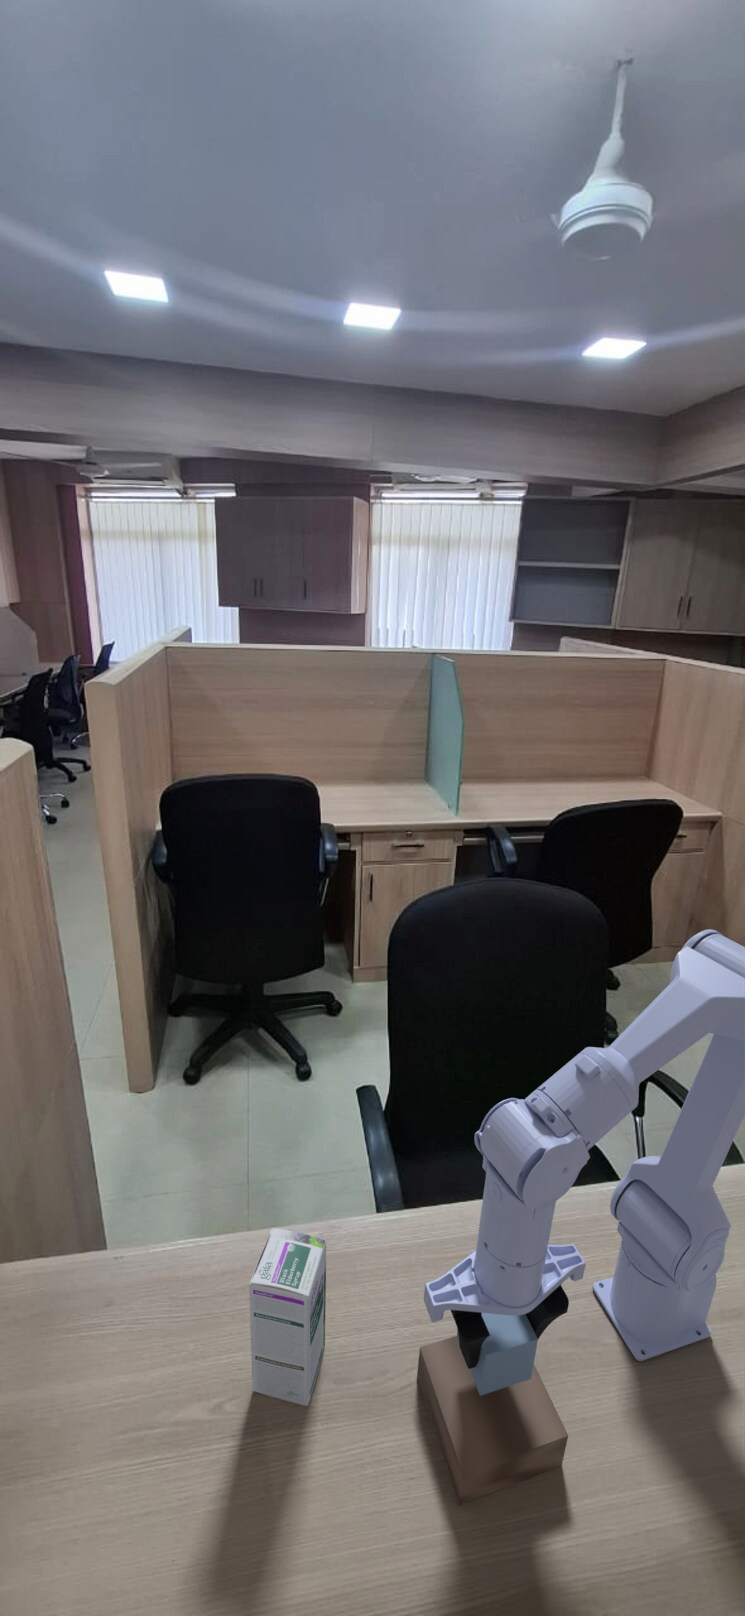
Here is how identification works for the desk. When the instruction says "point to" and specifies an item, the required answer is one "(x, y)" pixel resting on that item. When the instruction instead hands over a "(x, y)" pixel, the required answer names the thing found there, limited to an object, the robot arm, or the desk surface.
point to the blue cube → (505, 1353)
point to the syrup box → (288, 1315)
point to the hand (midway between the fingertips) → (495, 1347)
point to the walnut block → (488, 1424)
